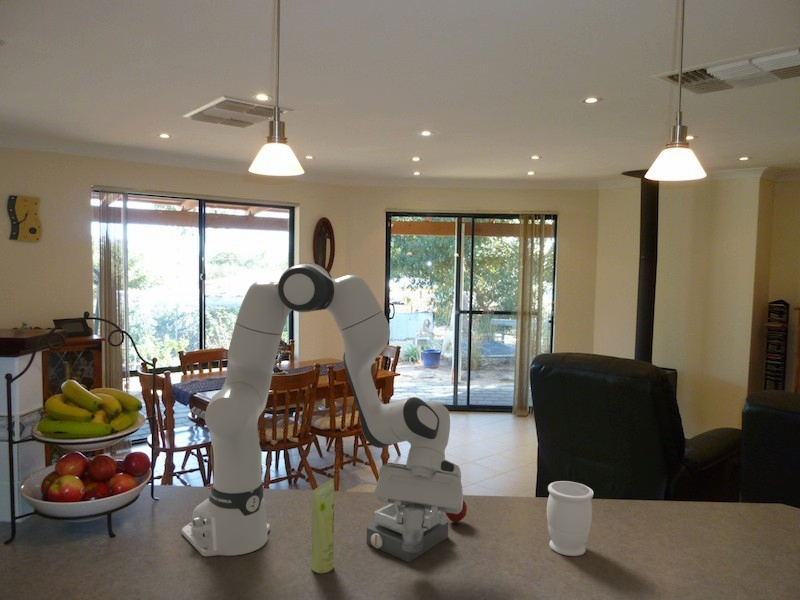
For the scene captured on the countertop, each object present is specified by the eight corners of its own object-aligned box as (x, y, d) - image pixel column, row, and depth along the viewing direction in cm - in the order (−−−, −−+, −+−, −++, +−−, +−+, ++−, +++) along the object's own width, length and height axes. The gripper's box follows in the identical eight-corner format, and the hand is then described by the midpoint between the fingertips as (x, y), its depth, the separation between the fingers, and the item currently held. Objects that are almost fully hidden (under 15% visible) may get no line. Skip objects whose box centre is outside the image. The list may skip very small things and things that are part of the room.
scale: (364, 544, 141) (364, 528, 141) (406, 521, 155) (407, 506, 154) (406, 563, 133) (407, 546, 133) (447, 537, 146) (448, 521, 146)
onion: (465, 529, 151) (466, 499, 151) (443, 526, 152) (444, 496, 152) (467, 519, 157) (468, 490, 156) (445, 516, 158) (446, 487, 157)
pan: (374, 522, 143) (374, 511, 143) (404, 507, 152) (404, 496, 152) (412, 538, 135) (413, 527, 135) (442, 521, 145) (442, 510, 145)
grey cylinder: (397, 547, 130) (399, 508, 129) (410, 539, 134) (412, 501, 133) (414, 555, 127) (416, 515, 126) (427, 547, 131) (429, 508, 130)
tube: (335, 574, 128) (336, 488, 127) (311, 576, 127) (313, 489, 125) (332, 561, 134) (333, 478, 132) (309, 563, 132) (311, 479, 131)
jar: (592, 544, 145) (595, 485, 144) (587, 563, 136) (590, 501, 135) (549, 534, 150) (552, 477, 148) (541, 552, 140) (544, 491, 139)
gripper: (379, 455, 138) (365, 512, 129) (466, 467, 133) (456, 527, 124) (384, 467, 143) (370, 523, 134) (467, 479, 138) (458, 538, 129)
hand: (412, 525), depth 129 cm, fingers closed on grey cylinder, 5 cm apart
